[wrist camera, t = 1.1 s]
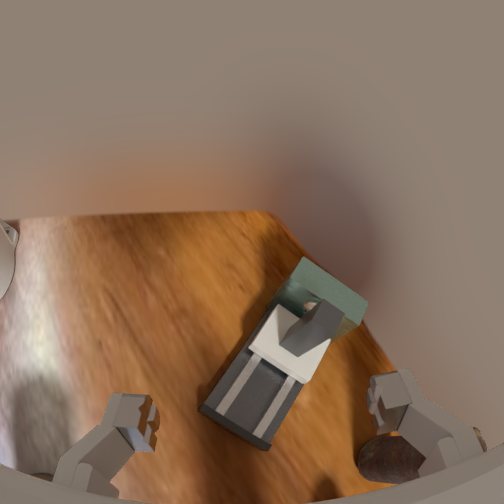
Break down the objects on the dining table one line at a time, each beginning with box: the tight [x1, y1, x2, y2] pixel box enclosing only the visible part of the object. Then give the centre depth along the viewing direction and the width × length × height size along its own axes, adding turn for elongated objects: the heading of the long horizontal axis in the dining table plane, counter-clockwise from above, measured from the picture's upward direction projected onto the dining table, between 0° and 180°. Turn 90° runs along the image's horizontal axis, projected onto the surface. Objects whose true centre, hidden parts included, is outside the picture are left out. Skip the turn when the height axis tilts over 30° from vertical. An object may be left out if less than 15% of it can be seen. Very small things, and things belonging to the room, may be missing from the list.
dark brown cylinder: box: [358, 427, 487, 484], centre depth 31 cm, size 8×7×20 cm
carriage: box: [248, 298, 345, 384], centre depth 38 cm, size 9×7×12 cm
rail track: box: [198, 256, 369, 451], centre depth 40 cm, size 11×22×10 cm, turn 148°
